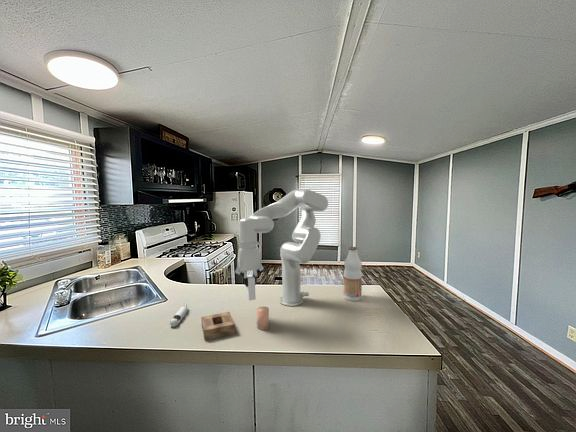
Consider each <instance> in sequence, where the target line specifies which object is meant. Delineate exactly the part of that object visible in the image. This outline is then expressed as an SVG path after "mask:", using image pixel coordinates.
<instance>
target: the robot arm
mask: <svg viewBox="0 0 576 432" xmlns="http://www.w3.org/2000/svg"><path fill="white" fill-rule="evenodd" d="M298 207H300V210H301V211H300V212H301V217H300V219H299V221H298V222H297V225H296V226H295V228H294V229H293V231H292V235H291V239H292V240H293V242H292V241H287V242H284V243H283V244H282V245H281V247H280V248H279V249H280V250H279V251H280V252H279V254H280V255H279V256H280V259H281V267H282V268H281V269H282V270H281V272H282V273H281V275H282V276H281V277H282V278H281V279H282V281H281V282H282V283H281V284H282V287H281V288H282V295H281V296H280V298H279V303H280V304H281V305H283V306H287V307H295V306H299V305H302V304H303V303H304V297H308V296H309V295H310V293H309V292H308V291H307V292H305V291H304V290H303V291H301V266H300V264H303V265H305V264H307V263H309V262H310V260H311V259H312V257H313V256H314V254H315V252H316V251H317V247H319V246H318V245H319V244H320V241H321V236H322V235H321V232H320V230H319V229H318V228H316V227H315V225H316V221H317V220H316V216H315V212H324V211H326V210H327V208H328V207H329V199H328V198H327V197H326V196H325V195H323V194H322V193H319V192H316V191H313V190H311V189H307V188H306V189H293V190H291V191H290V192H288V193H287V194H286V195H284V196H283V197H282V198H280V199H279V200H277V201H276V202H273V203H271V204H269V205H267V206H264V207H262V208H260V209H258V210H256V211H255V212H254V213H253V214H251V215H250V216H249V217H243V218H241V219H240V220H239V221H238V222H239V227H238V228H239V244H240V245H239V247H240V248H238V251H237V261H236V262H237V263H236V264H237V266H236V268H235V274H237V275H239V276H241V277H242V278H243V285H245V288H246V287H248V278H247V275H248V272H249V271H250V272H251V271H252V274H251V275H252V276H253V277H254V278H255V286H256V285H257V284H256V283H257V279H258V275H259V274H260V272H262V271H263V270H264V269H265V268H264V266H263V265H262V259H261V253H260V247H258V246H259V245H261V241H258V234H266V233H270V232H271V231H272V230H273V228H274V225H275V223H274V220H276V219H280V218H285V217H287V216H289V214H291V213H292V212H294V211H295V210H296V209H297V208H298Z"/></svg>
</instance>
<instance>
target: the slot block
mask: <svg viewBox="0 0 576 432" xmlns="http://www.w3.org/2000/svg"><path fill="white" fill-rule="evenodd" d="M201 329H202V335H203V339H204V341H206V340H212V339H217V338H220V337H224V336H225V337H226V336H230V335H234V334H236V323H235V320H234V319H233V316H232V314H231V313H230V311H227V312H221V313H215V314H210V315H205V316H204V315H203V316H201Z"/></svg>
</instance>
